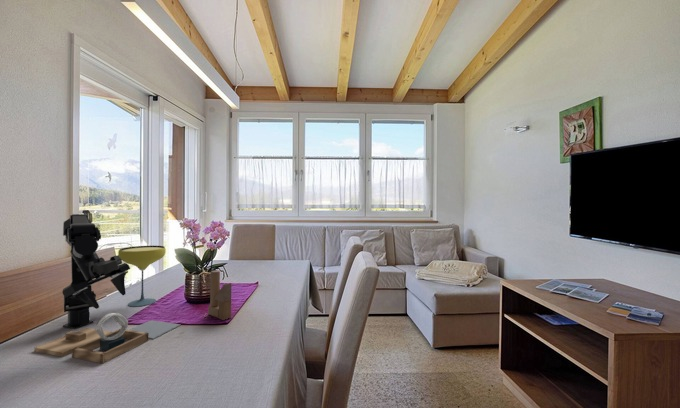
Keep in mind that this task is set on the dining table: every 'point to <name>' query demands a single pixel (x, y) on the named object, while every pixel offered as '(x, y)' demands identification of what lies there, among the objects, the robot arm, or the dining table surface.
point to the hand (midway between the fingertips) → (111, 301)
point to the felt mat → (155, 328)
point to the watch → (113, 340)
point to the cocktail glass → (141, 264)
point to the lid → (69, 342)
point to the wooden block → (219, 297)
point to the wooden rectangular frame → (102, 357)
